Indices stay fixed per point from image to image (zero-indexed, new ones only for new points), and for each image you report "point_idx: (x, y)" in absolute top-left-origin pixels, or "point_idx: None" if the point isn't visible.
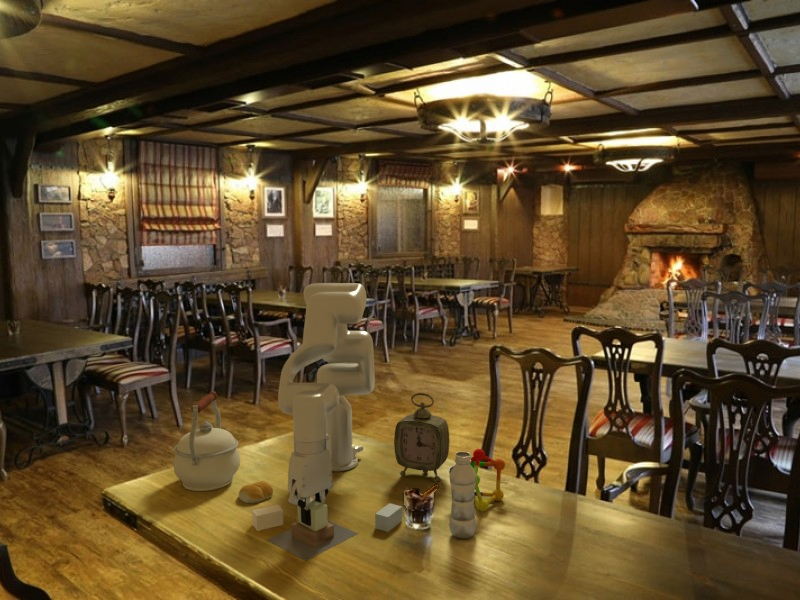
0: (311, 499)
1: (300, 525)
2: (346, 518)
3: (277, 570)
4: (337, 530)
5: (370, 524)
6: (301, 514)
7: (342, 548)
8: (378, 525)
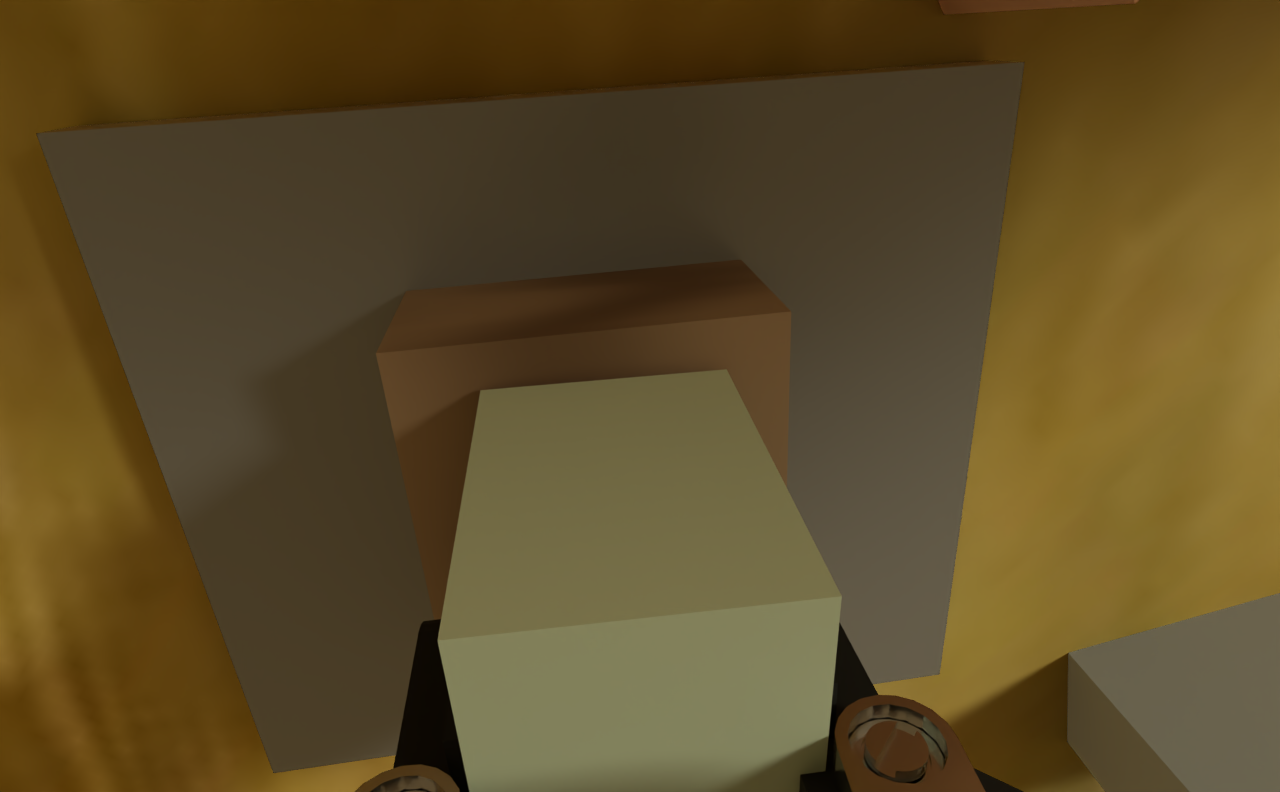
0: (778, 722)
1: (462, 484)
2: (1193, 265)
3: (6, 653)
4: (869, 520)
5: (1184, 520)
6: (412, 704)
7: None
8: (1120, 740)
